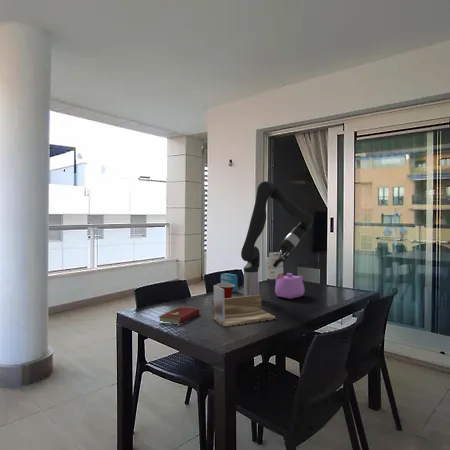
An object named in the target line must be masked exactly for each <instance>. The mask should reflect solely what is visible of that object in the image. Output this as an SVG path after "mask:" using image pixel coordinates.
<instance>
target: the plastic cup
mask: <svg viewBox="0 0 450 450" xmlns="http://www.w3.org/2000/svg"><path fill="white" fill-rule="evenodd" d="M216 286H218V287H220V288H223V289H224V299H226V298H233V296H232V295H233V293H232V291H233V288H234V286H235V285H234V284H230V283H221V282H219V283H216Z"/></svg>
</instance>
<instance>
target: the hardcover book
mask: <svg viewBox="0 0 450 450" xmlns="http://www.w3.org/2000/svg"><path fill="white" fill-rule="evenodd" d="M199 314H201V311H200V308H199V307H190V306H178V307H176V308H173V309H172V310H169V311H167V312H164V313H163V314H161V315H159V316H158V318H159V322H160V321H163V322H170V323H178V324H181V323H183V322H185V321H187V320H189V319H191V318H192V319H194V318H196V317H198V316H199ZM197 315H198V316H197ZM195 316H196V317H195ZM193 317H194V318H193ZM192 319H191V320H192ZM189 321H190V320H189ZM187 322H188V321H187ZM185 323H186V322H185ZM183 324H184V323H183Z"/></svg>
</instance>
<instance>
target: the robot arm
mask: <svg viewBox="0 0 450 450" xmlns="http://www.w3.org/2000/svg"><path fill="white" fill-rule="evenodd" d="M269 198H271V199H272V200H274V201H275V202H276V203H277V204H278V205H279V206H280V208H281V209H282V210H283V211H284V212H285V213H286V214H287V215H288V216H290V218H292V219H297V220H298V221H300V222H299V223H298V224H297V226H294V227H293V229H291V231H290V232H289V233H288V234H287V235H286V236H285V237H284V239H283V240H281V242H280V244H279V248H278V249H274V250H273V252H282V255H283V256H281V253H280V255H279V257H278V259H277V260H276V261H275V263H274V264H273V266H274V267H277V266H278V264H279V263H281V262H283V263H284V262H285V261H286V260H288V258H289V257H290V256H291V253H292V252H293V250H294V249H295V248H296V247H297V245H299V244H298V243H299V242H300V241H301V239H302V238H303V237H304V235H306V234H307V232H309V231H310V229H311V228H312V226H313V224H314V217H313V216H312V214H310V213H309V212H307V211H306V210H303V209H302V208H300V207H299V206H298V205H297V204H295V203H294V202H292V201H291V200H290V199H289V198H288V197H287V196H286V195H285V194H284V193H283V192H282V191H281V190H280V189H279V188H278V186H276V184H275V183H274V182H272V181H265V180H264V181H262V182H261V181H260V183H259V184H258V186H257V191H256V196H255V201H254V202H255V203H254V205H253V206H254V207H253V210H252V214H251V218H250V221H249V225H248V229H247V233H246V236H245V240H244V242H243V245H242V248H241V252H240V256H241V259H242V260H243V261H244V262H246V264H245V265H244V267H243V296H252V295H260V294H259V291H260V290H259V268H260V263H261V260H260V259H261V255H260V250H259V248H258V246H256V242H257V240H258V238H259V237H260V235H261V234H262V233H263V231H264V228H265V225H266V221H267V203H268V200H269ZM276 255H278V254H274V256H276Z"/></svg>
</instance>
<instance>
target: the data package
mask: <svg viewBox="0 0 450 450" xmlns="http://www.w3.org/2000/svg"><path fill="white" fill-rule="evenodd" d="M220 283H230V284H234V285H235V286H234V288H233V291H232V292H233V293H236V292H238V290H239V289H238V275H237V274H233V273H221V274H220Z"/></svg>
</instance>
